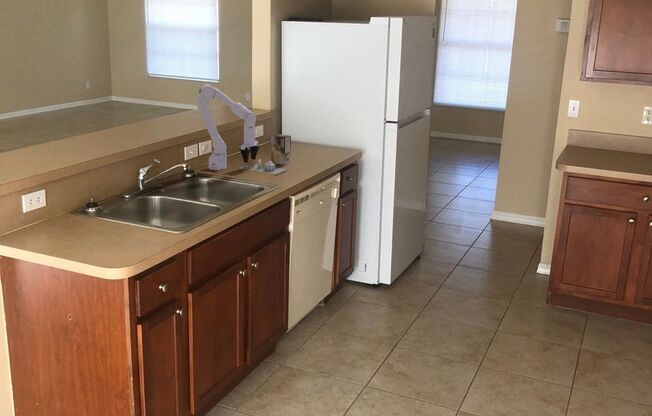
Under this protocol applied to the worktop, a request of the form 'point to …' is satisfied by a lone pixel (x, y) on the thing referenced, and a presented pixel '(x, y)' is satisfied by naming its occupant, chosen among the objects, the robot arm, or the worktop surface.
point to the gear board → (266, 168)
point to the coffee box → (281, 149)
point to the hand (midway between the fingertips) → (249, 160)
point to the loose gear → (249, 164)
